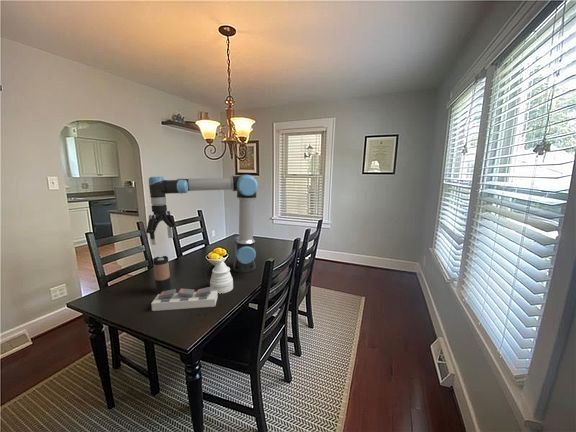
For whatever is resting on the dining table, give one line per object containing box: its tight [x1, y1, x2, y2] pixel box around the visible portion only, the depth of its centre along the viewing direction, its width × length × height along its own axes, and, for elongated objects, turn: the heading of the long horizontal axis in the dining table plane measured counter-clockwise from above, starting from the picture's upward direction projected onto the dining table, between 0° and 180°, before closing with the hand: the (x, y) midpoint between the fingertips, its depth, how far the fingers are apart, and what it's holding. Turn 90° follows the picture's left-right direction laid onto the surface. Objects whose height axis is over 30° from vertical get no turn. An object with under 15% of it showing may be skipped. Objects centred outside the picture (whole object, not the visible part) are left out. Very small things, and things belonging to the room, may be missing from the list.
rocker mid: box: [177, 288, 196, 297], centre depth 128 cm, size 7×5×2 cm
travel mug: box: [152, 255, 172, 295], centre depth 139 cm, size 8×8×20 cm
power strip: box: [150, 291, 219, 312], centre depth 128 cm, size 30×9×4 cm, turn 98°
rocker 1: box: [158, 288, 177, 299], centre depth 127 cm, size 7×5×2 cm
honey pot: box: [209, 259, 234, 295], centre depth 143 cm, size 13×13×18 cm
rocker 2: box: [196, 286, 212, 297], centre depth 129 cm, size 7×5×2 cm
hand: (162, 241), depth 143 cm, fingers open, 13 cm apart
